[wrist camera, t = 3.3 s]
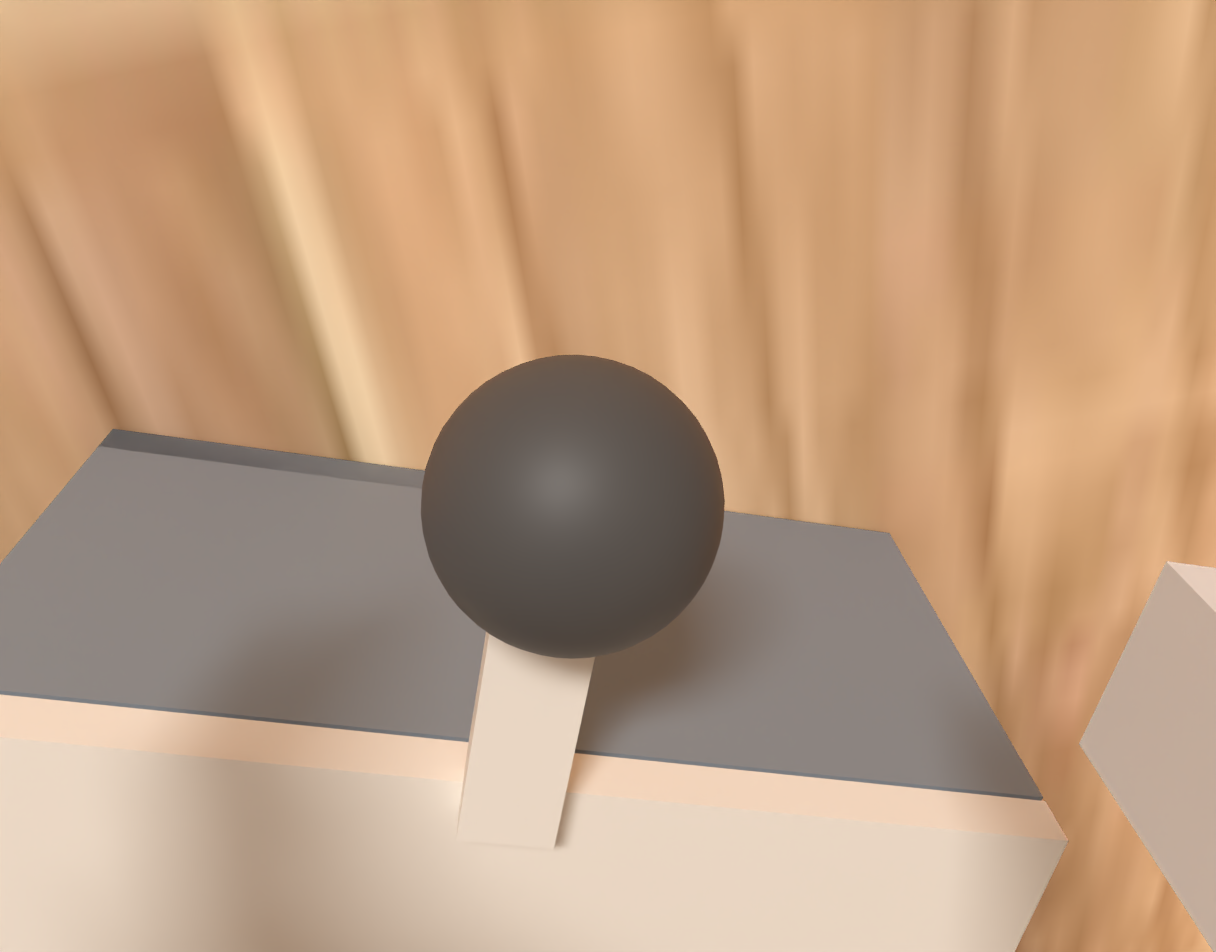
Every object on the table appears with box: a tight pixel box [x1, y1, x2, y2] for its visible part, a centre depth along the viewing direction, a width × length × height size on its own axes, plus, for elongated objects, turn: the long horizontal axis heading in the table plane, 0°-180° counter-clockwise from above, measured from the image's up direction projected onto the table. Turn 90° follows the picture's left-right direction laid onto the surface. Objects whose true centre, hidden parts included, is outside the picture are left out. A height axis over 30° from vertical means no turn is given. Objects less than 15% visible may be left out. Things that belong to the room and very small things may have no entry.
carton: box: [0, 429, 1043, 801], centre depth 27 cm, size 16×20×10 cm
